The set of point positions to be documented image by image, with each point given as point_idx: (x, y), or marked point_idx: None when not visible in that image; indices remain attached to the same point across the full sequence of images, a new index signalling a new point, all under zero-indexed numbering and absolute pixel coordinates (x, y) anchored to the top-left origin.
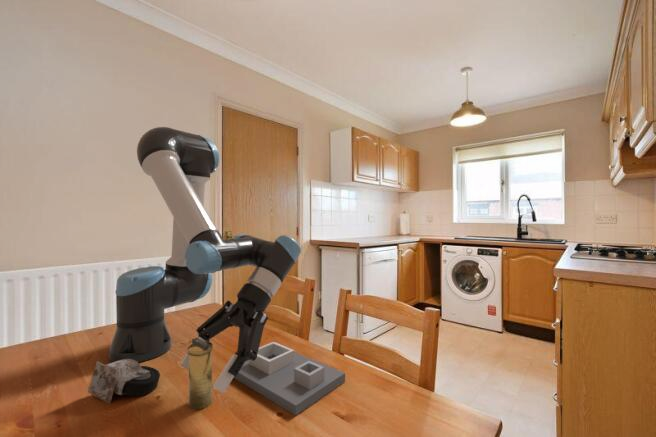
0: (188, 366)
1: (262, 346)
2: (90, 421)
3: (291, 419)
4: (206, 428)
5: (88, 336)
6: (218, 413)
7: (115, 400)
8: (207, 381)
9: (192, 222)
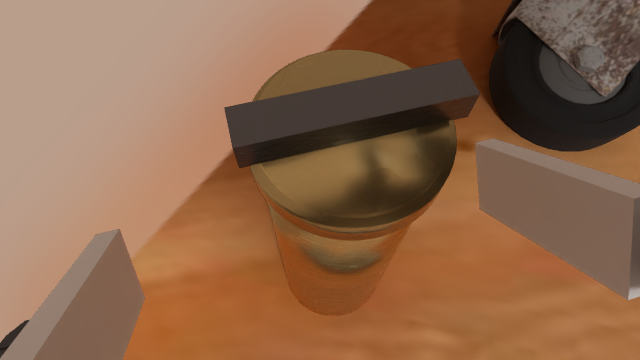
0: (485, 192)
1: None
2: (415, 3)
3: None
4: (157, 251)
5: None
6: (213, 314)
7: None
8: (281, 254)
9: None
